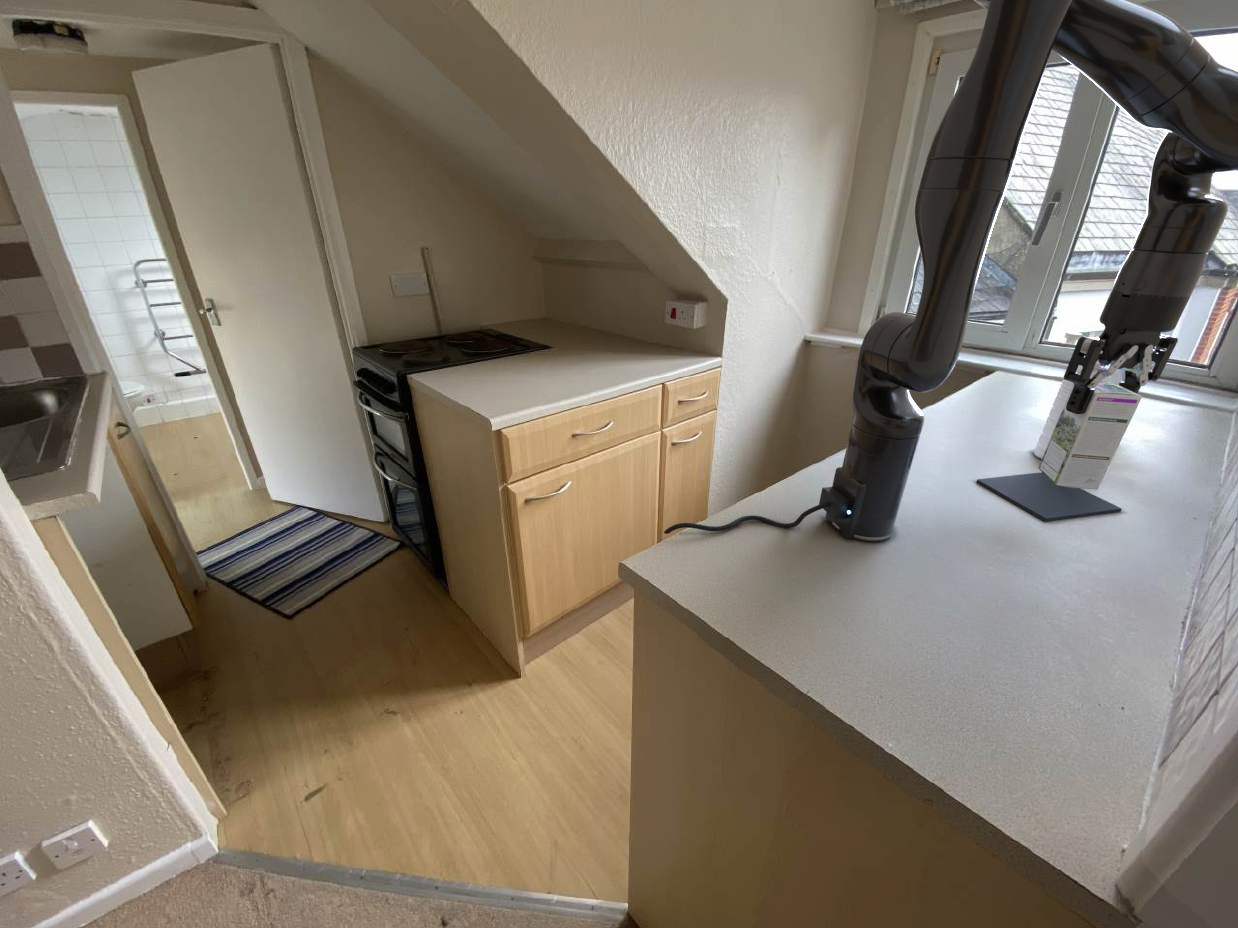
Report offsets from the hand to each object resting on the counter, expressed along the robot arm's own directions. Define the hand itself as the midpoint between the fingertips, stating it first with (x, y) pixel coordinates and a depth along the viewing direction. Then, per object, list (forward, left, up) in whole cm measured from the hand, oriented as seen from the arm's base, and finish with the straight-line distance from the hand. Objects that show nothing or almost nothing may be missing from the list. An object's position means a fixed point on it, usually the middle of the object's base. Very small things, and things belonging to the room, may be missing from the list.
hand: (1096, 410), depth 74 cm
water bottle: (+28, +24, -21) cm, 43 cm away
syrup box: (0, 0, -11) cm, 11 cm away
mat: (+12, +10, -21) cm, 26 cm away
